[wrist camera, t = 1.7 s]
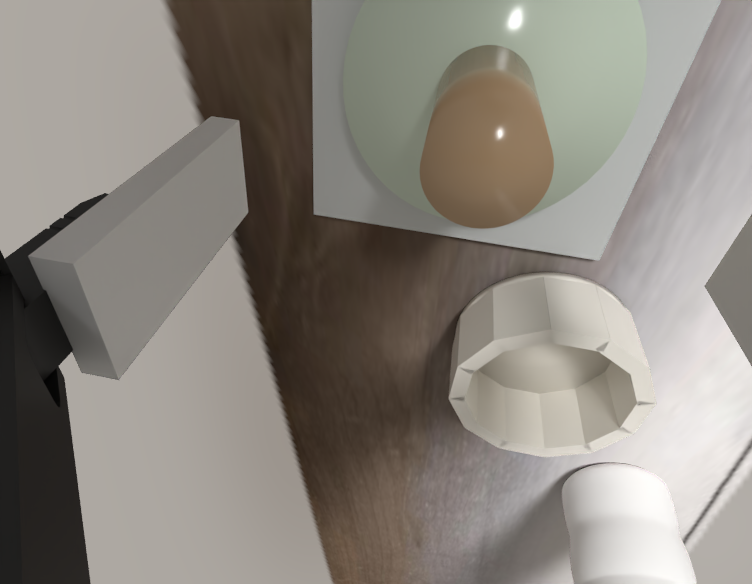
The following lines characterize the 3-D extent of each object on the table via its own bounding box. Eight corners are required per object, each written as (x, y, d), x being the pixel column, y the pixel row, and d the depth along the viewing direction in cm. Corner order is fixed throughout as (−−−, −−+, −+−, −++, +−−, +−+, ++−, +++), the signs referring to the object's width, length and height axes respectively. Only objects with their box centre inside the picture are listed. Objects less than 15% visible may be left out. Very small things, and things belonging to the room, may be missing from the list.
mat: (313, -172, 15) (310, -173, 15) (775, -129, 14) (781, -130, 14) (315, 210, 24) (313, 214, 24) (597, 255, 23) (599, 260, 23)
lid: (354, -106, 16) (281, -105, 10) (700, -71, 15) (834, -49, 9) (343, 192, 23) (297, 291, 17) (578, 228, 22) (610, 345, 16)
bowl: (474, 258, 24) (471, 315, 21) (664, 289, 24) (693, 354, 20) (443, 377, 31) (437, 436, 27) (594, 405, 30) (607, 469, 26)
